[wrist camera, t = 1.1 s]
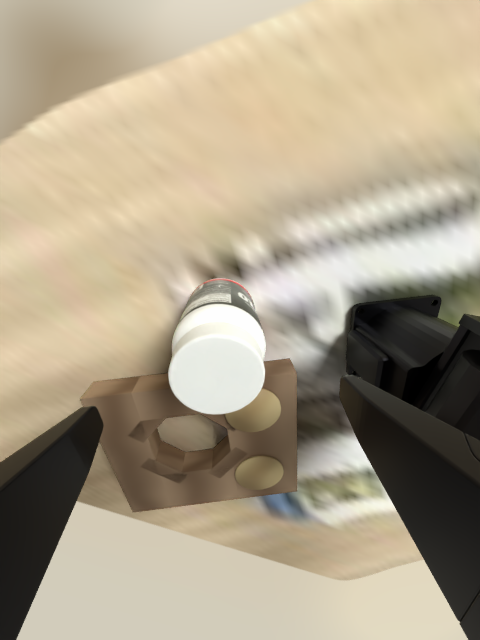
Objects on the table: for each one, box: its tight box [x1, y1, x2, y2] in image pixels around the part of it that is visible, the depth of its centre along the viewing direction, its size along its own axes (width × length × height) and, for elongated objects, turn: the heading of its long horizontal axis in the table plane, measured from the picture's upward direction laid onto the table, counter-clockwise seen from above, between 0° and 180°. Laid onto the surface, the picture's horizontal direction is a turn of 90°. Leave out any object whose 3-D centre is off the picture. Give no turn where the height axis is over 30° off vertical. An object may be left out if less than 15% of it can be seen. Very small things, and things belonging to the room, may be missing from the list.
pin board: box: [80, 359, 297, 512], centre depth 21 cm, size 16×14×2 cm
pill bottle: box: [168, 278, 266, 414], centre depth 14 cm, size 5×5×8 cm
